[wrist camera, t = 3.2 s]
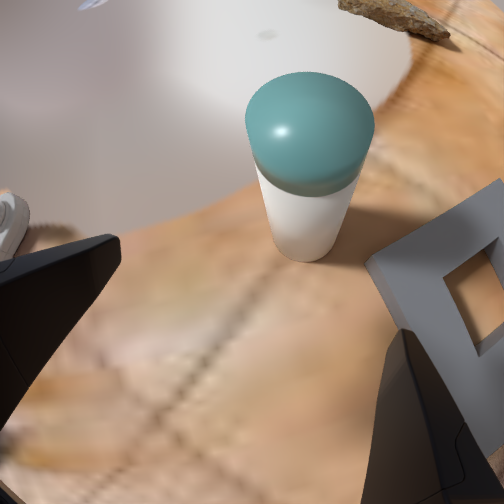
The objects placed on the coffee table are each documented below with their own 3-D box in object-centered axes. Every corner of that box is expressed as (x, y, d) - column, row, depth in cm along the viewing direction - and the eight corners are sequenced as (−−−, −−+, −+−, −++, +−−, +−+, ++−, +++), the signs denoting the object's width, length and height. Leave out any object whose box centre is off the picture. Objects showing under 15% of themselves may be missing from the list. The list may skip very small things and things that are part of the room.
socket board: (560, 363, 16) (578, 363, 14) (454, 461, 16) (468, 472, 14) (485, 190, 21) (499, 177, 19) (364, 264, 21) (372, 254, 19)
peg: (348, 243, 22) (399, 140, 10) (290, 273, 22) (283, 193, 10) (316, 190, 23) (328, 59, 11) (260, 217, 23) (225, 98, 11)
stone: (444, 31, 27) (457, 9, 23) (436, 68, 28) (451, 44, 23) (345, -12, 29) (348, -38, 24) (327, 20, 29) (329, -8, 24)
